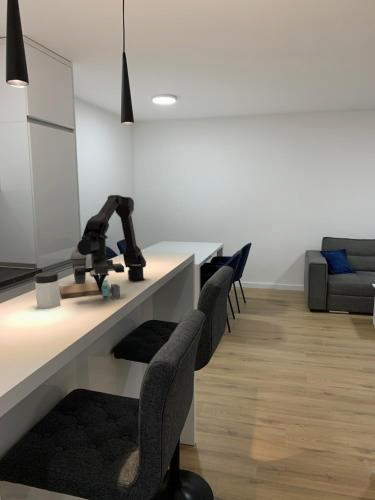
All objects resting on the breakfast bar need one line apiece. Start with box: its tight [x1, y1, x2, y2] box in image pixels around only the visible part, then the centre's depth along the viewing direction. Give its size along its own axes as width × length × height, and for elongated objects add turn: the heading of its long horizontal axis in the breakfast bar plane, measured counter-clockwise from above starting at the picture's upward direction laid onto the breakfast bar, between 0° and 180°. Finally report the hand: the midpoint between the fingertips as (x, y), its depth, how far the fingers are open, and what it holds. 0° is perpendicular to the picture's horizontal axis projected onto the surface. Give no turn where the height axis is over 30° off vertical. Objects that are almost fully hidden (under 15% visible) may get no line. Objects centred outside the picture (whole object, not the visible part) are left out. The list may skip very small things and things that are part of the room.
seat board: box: [59, 282, 111, 300], centre depth 169 cm, size 20×14×2 cm
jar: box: [34, 271, 61, 309], centre depth 150 cm, size 9×8×12 cm
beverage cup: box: [70, 239, 87, 285], centre depth 185 cm, size 7×7×20 cm
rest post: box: [110, 283, 121, 300], centre depth 159 cm, size 2×6×4 cm, turn 21°
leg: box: [102, 279, 111, 297], centre depth 161 cm, size 16×3×2 cm, turn 14°
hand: (99, 291), depth 157 cm, fingers closed
